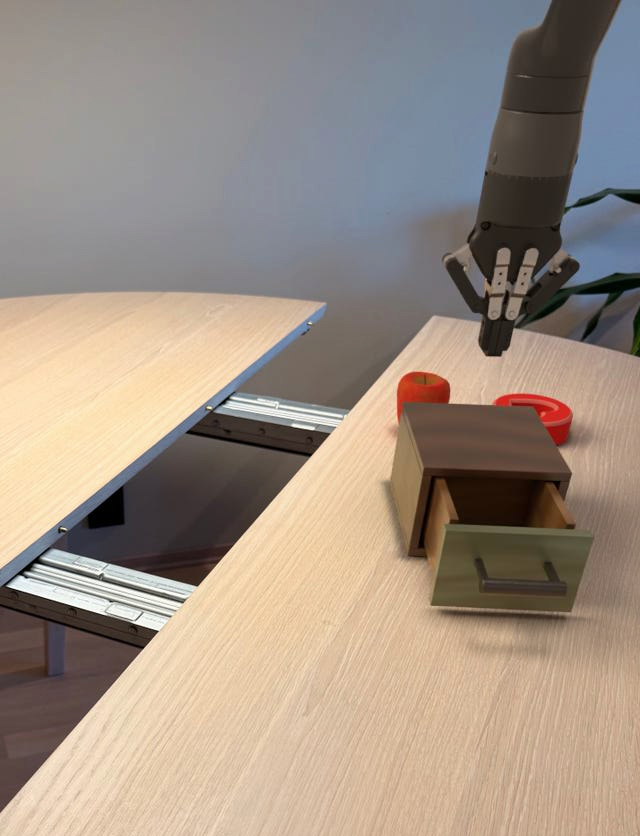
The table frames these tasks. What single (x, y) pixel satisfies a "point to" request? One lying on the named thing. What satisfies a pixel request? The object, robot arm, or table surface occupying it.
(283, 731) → the table surface
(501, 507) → the drawer
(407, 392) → the apple
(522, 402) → the decorative ornament
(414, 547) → the cabinet
